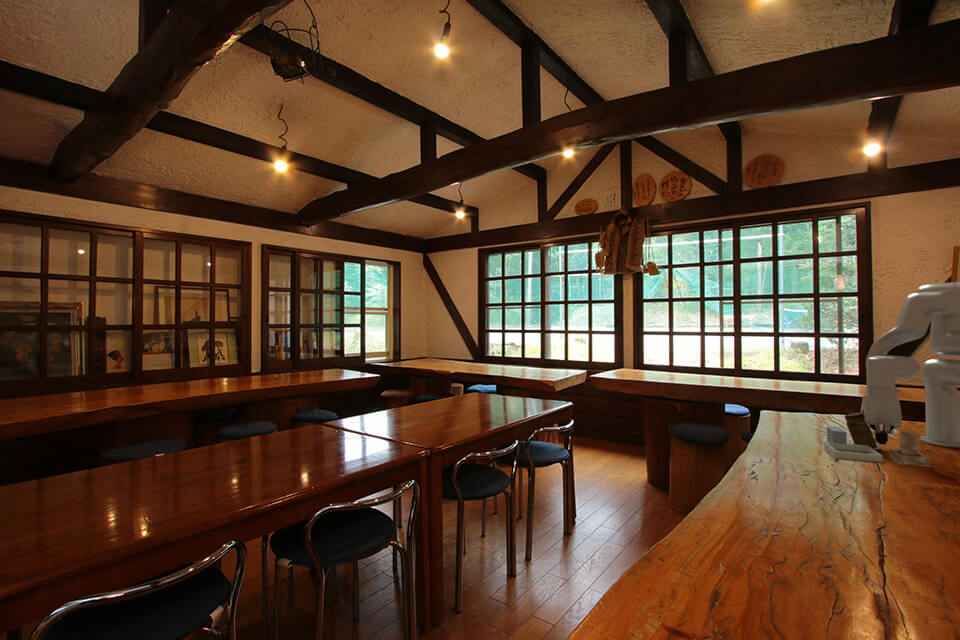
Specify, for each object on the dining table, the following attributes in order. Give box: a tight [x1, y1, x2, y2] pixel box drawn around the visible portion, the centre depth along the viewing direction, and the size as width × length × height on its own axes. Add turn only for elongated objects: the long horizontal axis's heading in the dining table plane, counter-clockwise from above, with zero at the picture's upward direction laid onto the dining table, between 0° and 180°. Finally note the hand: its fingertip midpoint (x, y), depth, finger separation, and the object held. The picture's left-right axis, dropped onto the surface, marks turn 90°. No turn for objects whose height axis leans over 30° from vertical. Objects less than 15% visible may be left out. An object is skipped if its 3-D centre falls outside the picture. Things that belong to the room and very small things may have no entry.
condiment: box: [844, 412, 882, 451], centre depth 157 cm, size 7×8×12 cm
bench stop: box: [826, 425, 848, 444], centre depth 160 cm, size 4×7×7 cm, turn 155°
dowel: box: [899, 431, 919, 457], centre depth 141 cm, size 4×4×9 cm
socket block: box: [887, 449, 932, 468], centre depth 141 cm, size 8×8×4 cm
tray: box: [823, 441, 884, 463], centre depth 150 cm, size 12×12×3 cm
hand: (881, 443), depth 154 cm, fingers closed
